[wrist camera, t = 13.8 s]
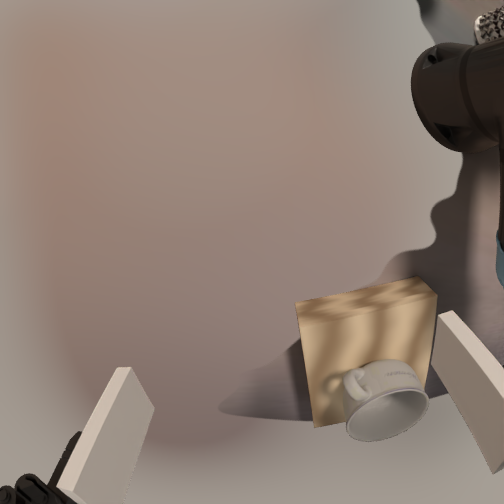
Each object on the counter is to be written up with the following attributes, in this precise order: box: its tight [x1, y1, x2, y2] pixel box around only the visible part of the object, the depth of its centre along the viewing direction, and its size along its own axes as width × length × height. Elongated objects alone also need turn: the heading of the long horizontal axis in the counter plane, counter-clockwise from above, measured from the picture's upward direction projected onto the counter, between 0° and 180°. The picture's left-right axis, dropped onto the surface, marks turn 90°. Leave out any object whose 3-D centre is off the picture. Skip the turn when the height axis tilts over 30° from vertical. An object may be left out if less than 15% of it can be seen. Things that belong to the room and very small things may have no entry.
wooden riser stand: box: [295, 276, 438, 428], centre depth 40 cm, size 18×20×6 cm
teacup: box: [343, 359, 429, 442], centre depth 34 cm, size 14×11×8 cm
